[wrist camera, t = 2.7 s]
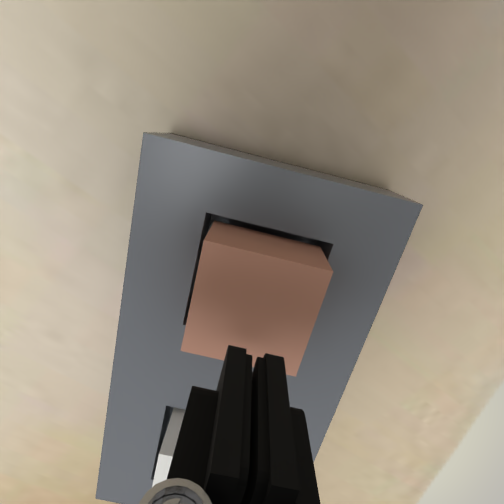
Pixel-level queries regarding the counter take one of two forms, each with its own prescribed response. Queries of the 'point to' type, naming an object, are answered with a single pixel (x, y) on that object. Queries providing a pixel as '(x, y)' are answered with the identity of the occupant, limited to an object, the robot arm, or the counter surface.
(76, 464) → the counter surface
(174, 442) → the off-white key
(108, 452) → the key panel
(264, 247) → the terracotta key
